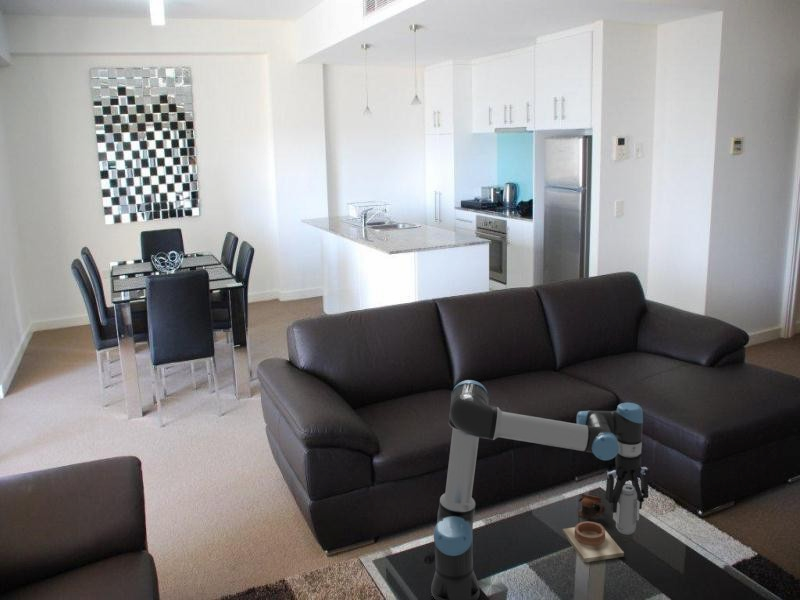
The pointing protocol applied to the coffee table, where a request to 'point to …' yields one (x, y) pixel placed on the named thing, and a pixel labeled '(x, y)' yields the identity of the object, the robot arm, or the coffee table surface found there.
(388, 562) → the coffee table surface
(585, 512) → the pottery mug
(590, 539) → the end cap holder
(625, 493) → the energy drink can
